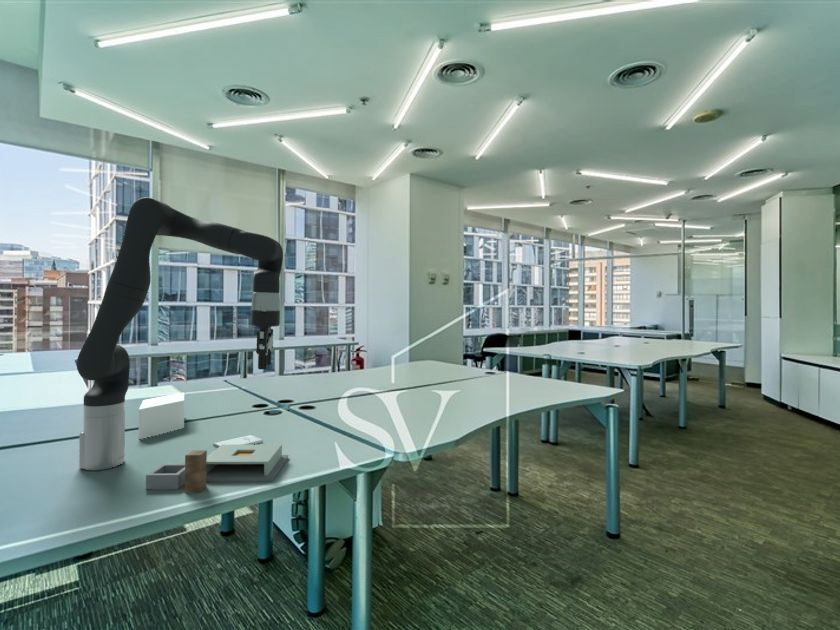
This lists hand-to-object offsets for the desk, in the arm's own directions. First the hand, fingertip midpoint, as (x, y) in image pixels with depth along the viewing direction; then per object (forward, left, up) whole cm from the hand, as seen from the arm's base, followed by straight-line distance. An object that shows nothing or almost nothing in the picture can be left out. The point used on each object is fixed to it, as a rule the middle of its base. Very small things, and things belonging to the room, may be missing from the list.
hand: (264, 366), depth 121 cm
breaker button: (-4, -3, -25) cm, 26 cm away
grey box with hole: (-4, -3, -28) cm, 28 cm away
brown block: (-11, -16, -28) cm, 34 cm away
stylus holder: (-19, -12, -28) cm, 36 cm away
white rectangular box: (-46, +38, -28) cm, 66 cm away
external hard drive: (-13, +19, -29) cm, 37 cm away
